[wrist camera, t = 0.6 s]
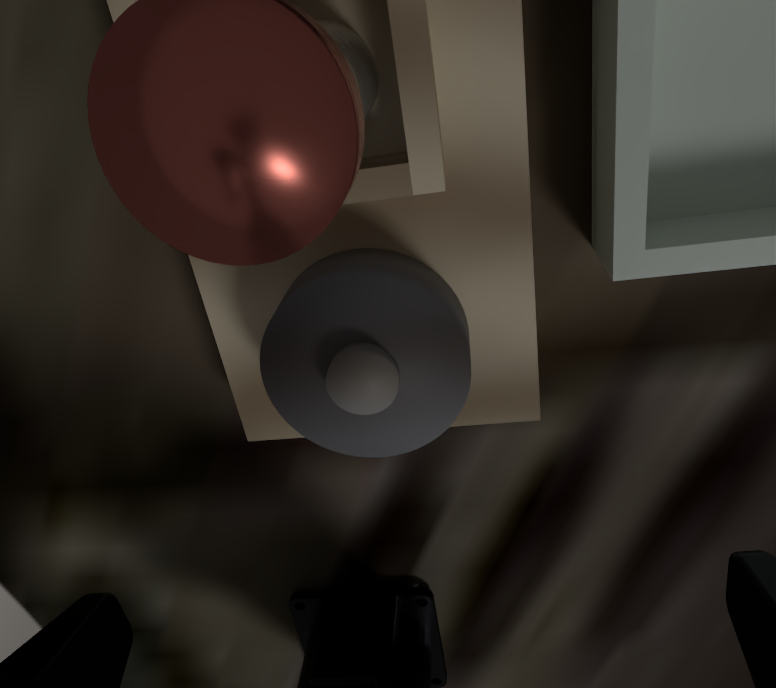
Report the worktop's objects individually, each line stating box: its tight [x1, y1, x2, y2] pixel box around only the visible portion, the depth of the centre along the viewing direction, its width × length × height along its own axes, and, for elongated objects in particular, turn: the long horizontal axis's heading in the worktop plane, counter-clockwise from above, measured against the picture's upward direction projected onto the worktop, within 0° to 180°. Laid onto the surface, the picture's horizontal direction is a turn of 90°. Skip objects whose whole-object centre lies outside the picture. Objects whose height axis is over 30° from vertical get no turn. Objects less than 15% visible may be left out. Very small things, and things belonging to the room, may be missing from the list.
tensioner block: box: [107, 0, 540, 457], centre depth 17 cm, size 14×10×5 cm
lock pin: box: [87, 0, 378, 266], centre depth 12 cm, size 4×4×8 cm
